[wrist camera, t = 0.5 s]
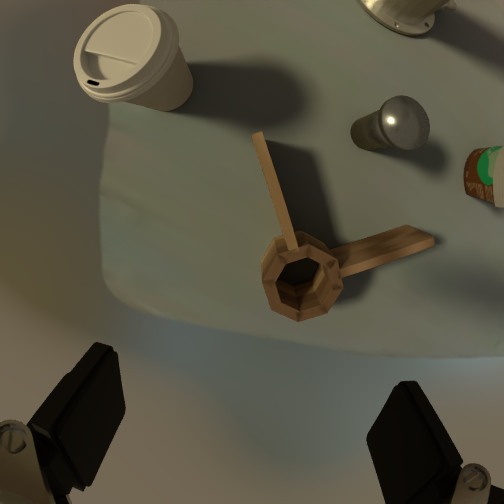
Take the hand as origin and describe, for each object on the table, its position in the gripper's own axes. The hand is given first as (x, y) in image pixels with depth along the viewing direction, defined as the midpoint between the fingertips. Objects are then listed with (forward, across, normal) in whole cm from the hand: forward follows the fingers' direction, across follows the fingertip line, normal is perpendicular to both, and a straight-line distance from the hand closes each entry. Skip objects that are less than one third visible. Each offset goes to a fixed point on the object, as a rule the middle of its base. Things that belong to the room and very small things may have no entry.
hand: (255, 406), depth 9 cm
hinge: (+28, -8, -4) cm, 29 cm away
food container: (+28, -30, -16) cm, 44 cm away
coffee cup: (+28, +14, -16) cm, 35 cm away
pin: (+28, -11, -14) cm, 33 cm away
